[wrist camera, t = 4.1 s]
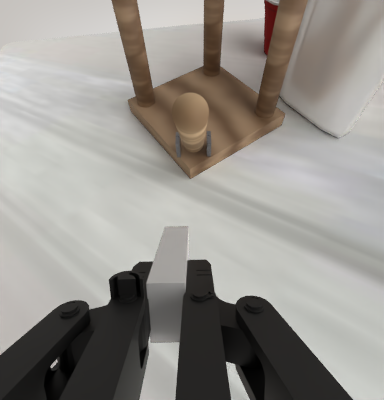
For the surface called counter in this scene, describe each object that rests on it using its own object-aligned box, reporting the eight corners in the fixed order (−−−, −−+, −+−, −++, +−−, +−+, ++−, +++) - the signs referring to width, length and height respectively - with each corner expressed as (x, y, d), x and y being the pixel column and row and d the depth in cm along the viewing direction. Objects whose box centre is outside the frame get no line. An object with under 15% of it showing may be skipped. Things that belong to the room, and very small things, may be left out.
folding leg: (204, 152, 38) (209, 129, 22) (182, 152, 38) (172, 130, 22) (203, 130, 38) (208, 92, 22) (182, 131, 38) (171, 93, 22)
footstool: (190, 178, 40) (182, 39, 22) (130, 111, 49) (91, -28, 31) (281, 125, 46) (332, -21, 28) (213, 72, 55) (219, -63, 37)
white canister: (273, 95, 50) (316, -60, 31) (323, 70, 54) (389, -82, 35) (334, 142, 43) (436, -20, 25) (387, 109, 47) (511, -53, 28)
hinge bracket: (210, 156, 39) (211, 142, 37) (176, 157, 39) (175, 143, 37) (210, 145, 40) (210, 130, 38) (177, 145, 41) (175, 131, 38)
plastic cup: (242, 52, 58) (251, -12, 48) (271, 34, 62) (285, -29, 52) (281, 72, 54) (300, 5, 44) (310, 51, 58) (333, -14, 47)
